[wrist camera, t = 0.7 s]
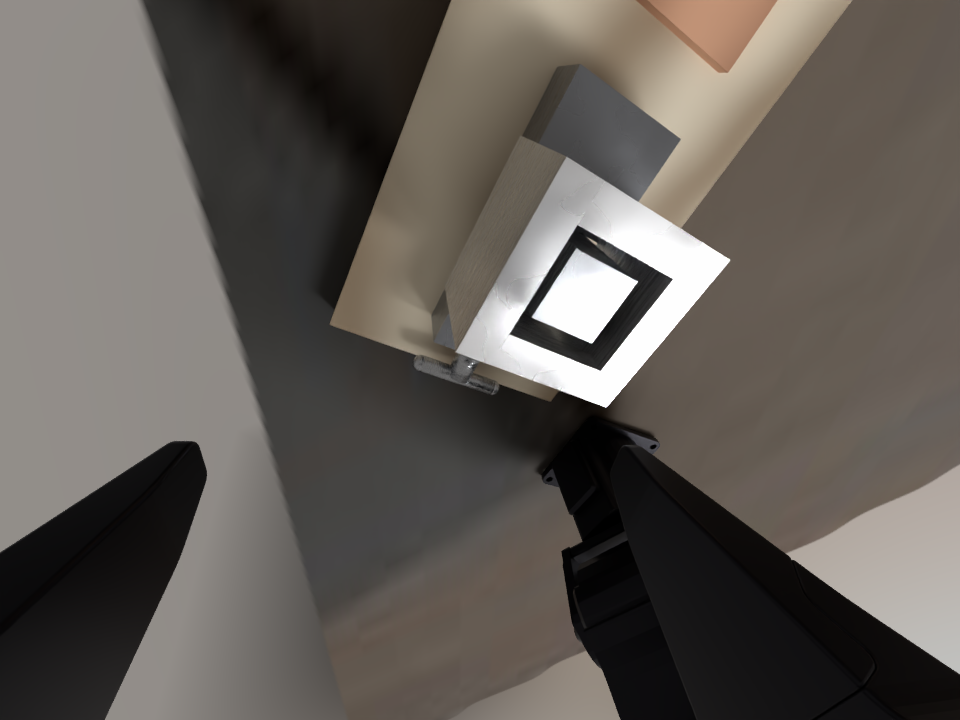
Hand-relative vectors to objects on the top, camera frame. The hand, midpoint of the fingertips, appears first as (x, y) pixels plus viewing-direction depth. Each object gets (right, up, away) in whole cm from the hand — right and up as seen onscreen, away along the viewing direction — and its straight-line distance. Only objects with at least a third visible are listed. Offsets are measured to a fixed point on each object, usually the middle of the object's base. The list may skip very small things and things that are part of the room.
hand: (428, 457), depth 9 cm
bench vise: (+3, +7, +10) cm, 12 cm away
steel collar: (+4, +7, +7) cm, 10 cm away
